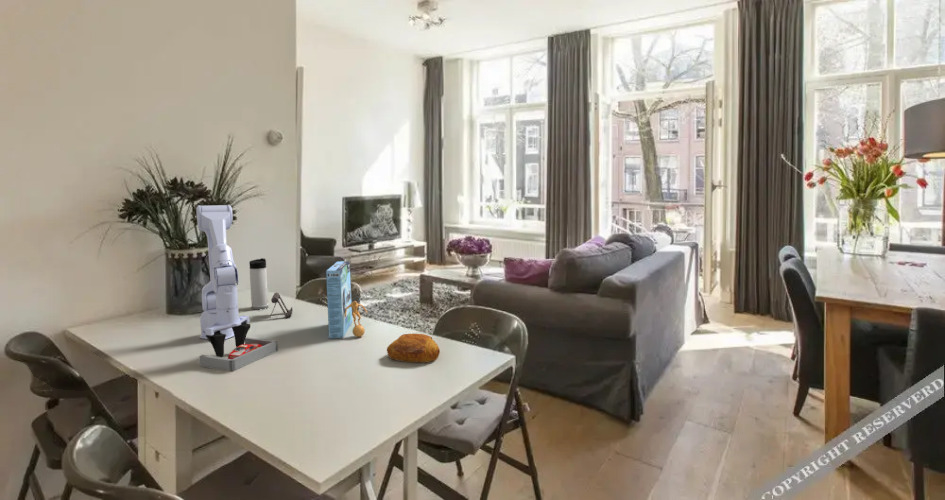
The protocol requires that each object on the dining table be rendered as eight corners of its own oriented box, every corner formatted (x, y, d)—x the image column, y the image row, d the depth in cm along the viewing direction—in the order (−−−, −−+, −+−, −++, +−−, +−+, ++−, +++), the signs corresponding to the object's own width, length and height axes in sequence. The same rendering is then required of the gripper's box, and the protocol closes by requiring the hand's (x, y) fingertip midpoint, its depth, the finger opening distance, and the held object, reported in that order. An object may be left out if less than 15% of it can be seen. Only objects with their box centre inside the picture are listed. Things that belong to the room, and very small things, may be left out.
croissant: (429, 374, 142) (432, 348, 140) (379, 361, 146) (382, 335, 145) (446, 356, 156) (450, 332, 154) (401, 344, 160) (403, 321, 158)
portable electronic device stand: (291, 318, 191) (290, 296, 189) (268, 319, 188) (267, 298, 187) (292, 312, 199) (291, 291, 198) (271, 313, 197) (270, 292, 196)
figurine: (349, 340, 164) (348, 304, 163) (341, 336, 169) (340, 301, 167) (372, 335, 170) (371, 301, 168) (364, 331, 174) (363, 297, 173)
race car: (250, 350, 156) (249, 337, 155) (266, 350, 155) (266, 338, 155) (224, 365, 143) (223, 351, 142) (241, 366, 142) (241, 352, 142)
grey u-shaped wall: (200, 366, 141) (199, 356, 141) (247, 346, 158) (247, 337, 158) (232, 371, 138) (231, 360, 137) (277, 350, 154) (277, 341, 154)
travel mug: (272, 306, 207) (270, 258, 205) (260, 310, 201) (258, 261, 199) (260, 305, 210) (257, 257, 207) (248, 309, 203) (245, 260, 201)
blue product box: (343, 338, 167) (341, 270, 163) (327, 339, 166) (325, 270, 163) (352, 322, 186) (350, 260, 183) (338, 322, 185) (336, 261, 182)
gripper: (218, 314, 139) (221, 361, 141) (256, 302, 153) (258, 345, 154) (198, 312, 141) (201, 358, 143) (237, 300, 155) (240, 343, 157)
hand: (230, 352), depth 149 cm, fingers open, 7 cm apart
